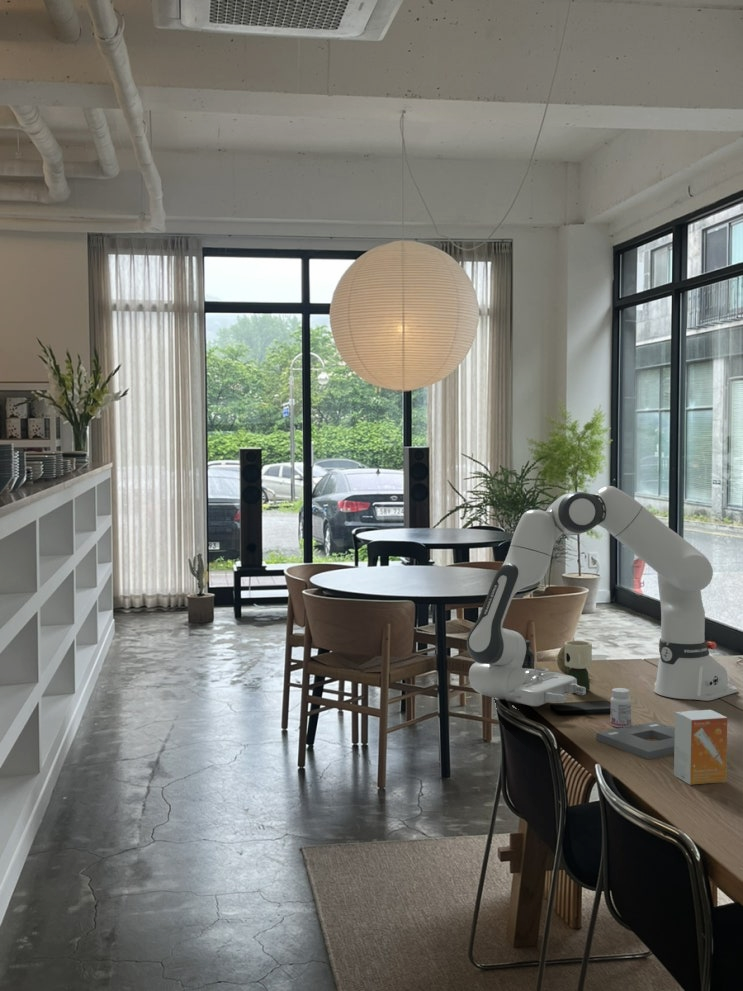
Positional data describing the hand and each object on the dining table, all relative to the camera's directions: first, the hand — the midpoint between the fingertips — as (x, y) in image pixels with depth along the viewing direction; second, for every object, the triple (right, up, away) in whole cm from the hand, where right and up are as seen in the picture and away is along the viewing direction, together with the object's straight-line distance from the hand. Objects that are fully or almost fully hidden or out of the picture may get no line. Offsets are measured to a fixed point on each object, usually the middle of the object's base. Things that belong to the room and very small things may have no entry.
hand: (575, 695), depth 241 cm
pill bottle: (+9, -6, -8) cm, 13 cm away
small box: (+15, -8, -45) cm, 48 cm away
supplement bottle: (-8, -4, +33) cm, 34 cm away
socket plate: (+13, -6, -22) cm, 26 cm away
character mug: (+6, -4, +25) cm, 26 cm away
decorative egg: (+7, -3, +43) cm, 44 cm away
